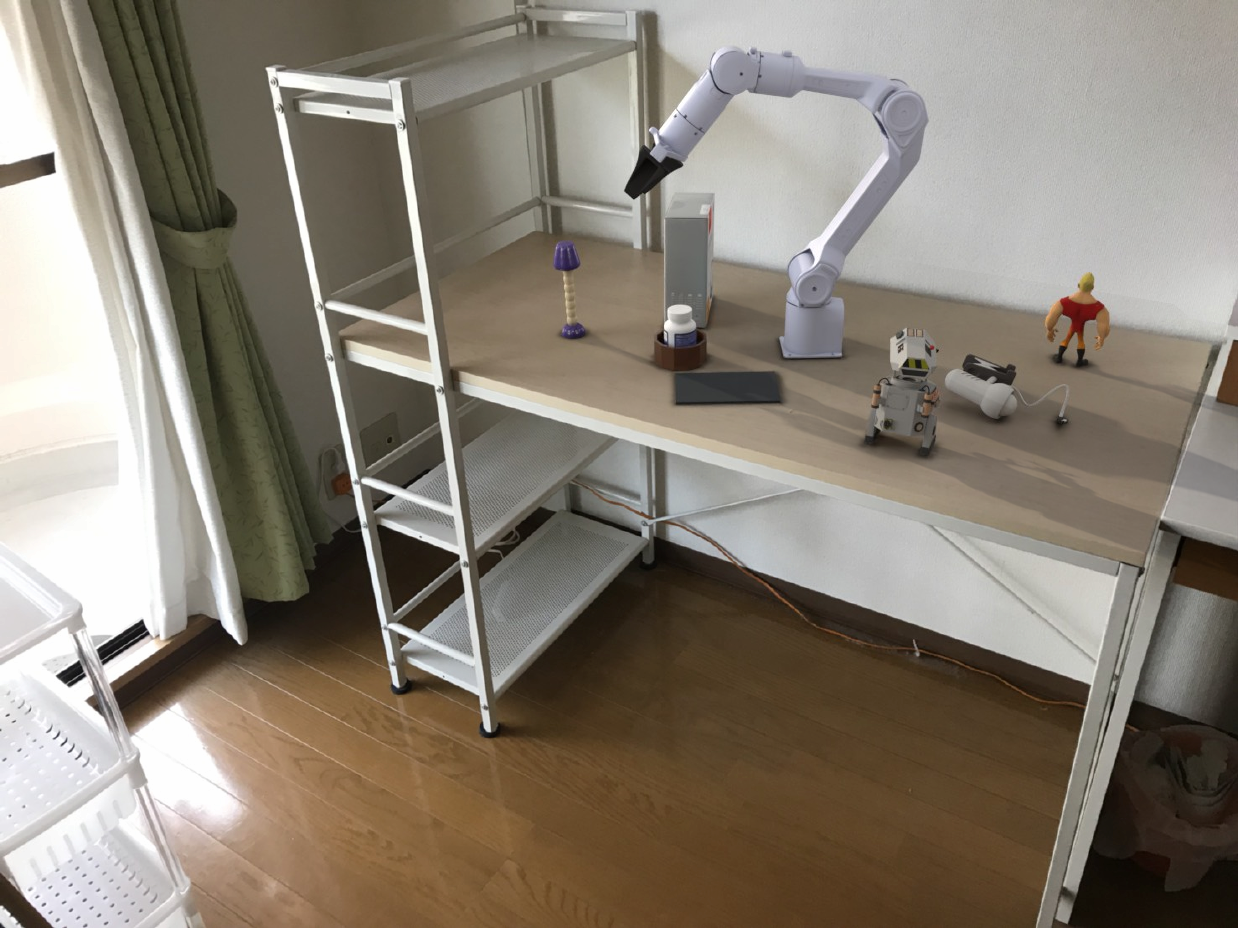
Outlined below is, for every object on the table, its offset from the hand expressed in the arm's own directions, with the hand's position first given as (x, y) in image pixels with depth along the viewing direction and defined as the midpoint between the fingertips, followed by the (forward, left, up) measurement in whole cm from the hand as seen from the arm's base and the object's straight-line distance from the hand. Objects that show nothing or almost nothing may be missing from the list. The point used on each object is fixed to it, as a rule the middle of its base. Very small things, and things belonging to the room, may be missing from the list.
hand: (634, 192), depth 153 cm
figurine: (-38, +29, -28) cm, 55 cm away
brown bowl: (-7, +2, -27) cm, 28 cm away
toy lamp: (+12, -9, -28) cm, 31 cm away
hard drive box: (-9, -18, -28) cm, 34 cm away
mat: (-14, +13, -27) cm, 33 cm away
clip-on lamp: (-55, +21, -28) cm, 65 cm away
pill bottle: (-7, +2, -28) cm, 29 cm away
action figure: (-69, +6, -28) cm, 74 cm away
